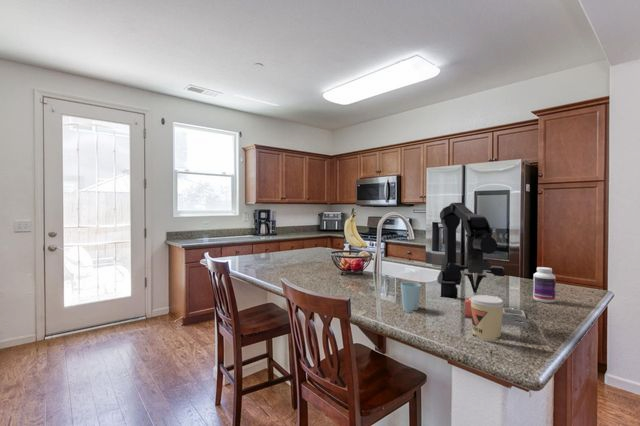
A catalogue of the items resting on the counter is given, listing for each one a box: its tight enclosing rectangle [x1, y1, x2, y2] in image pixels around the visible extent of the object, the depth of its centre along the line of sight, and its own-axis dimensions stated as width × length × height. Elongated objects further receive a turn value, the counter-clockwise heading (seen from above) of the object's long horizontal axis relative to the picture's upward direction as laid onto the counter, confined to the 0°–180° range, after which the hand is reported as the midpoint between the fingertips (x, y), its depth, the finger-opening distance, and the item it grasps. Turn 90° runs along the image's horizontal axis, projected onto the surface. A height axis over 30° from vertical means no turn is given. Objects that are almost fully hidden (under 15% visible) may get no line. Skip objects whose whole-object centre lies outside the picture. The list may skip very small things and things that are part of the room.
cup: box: [400, 281, 422, 314], centre depth 127 cm, size 8×8×10 cm
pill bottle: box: [532, 266, 557, 304], centre depth 142 cm, size 8×8×14 cm
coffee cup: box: [470, 294, 505, 342], centre depth 102 cm, size 9×9×12 cm
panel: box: [462, 306, 530, 328], centre depth 121 cm, size 20×20×2 cm
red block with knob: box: [464, 297, 472, 316], centre depth 120 cm, size 4×4×6 cm
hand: (474, 292), depth 120 cm, fingers closed
